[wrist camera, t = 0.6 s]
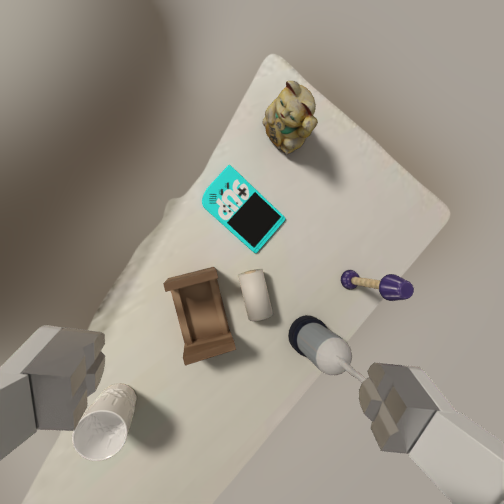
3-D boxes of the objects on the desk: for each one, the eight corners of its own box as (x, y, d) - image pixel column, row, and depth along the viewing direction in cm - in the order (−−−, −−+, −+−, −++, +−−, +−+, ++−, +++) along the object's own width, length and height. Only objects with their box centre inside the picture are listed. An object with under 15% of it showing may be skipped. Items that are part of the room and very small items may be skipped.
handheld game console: (229, 164, 57) (230, 162, 55) (285, 218, 59) (287, 217, 58) (196, 201, 56) (196, 199, 54) (254, 254, 58) (256, 254, 57)
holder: (230, 335, 57) (236, 349, 49) (186, 348, 55) (184, 365, 47) (213, 266, 56) (216, 270, 48) (168, 278, 54) (163, 283, 46)
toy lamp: (350, 264, 62) (406, 270, 45) (364, 278, 62) (423, 289, 46) (336, 280, 61) (387, 292, 45) (350, 294, 62) (406, 311, 46)
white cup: (146, 385, 54) (134, 417, 44) (131, 425, 54) (116, 465, 44) (104, 375, 52) (83, 404, 43) (88, 415, 52) (63, 455, 42)
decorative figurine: (252, 126, 57) (272, 84, 42) (280, 100, 58) (308, 50, 43) (284, 162, 58) (314, 133, 44) (311, 136, 59) (348, 99, 45)
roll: (269, 311, 59) (276, 316, 54) (246, 318, 57) (252, 324, 53) (258, 267, 58) (265, 269, 53) (235, 273, 57) (240, 275, 52)
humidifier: (303, 361, 60) (376, 440, 36) (281, 332, 59) (340, 393, 34) (331, 336, 61) (421, 396, 37) (309, 307, 60) (387, 350, 36)
